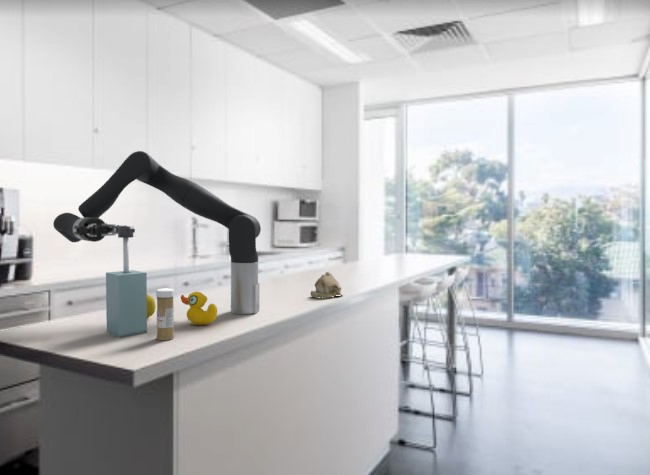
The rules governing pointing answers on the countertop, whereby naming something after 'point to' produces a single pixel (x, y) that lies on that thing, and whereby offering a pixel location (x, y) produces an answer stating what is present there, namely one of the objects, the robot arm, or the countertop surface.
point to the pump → (125, 244)
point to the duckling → (199, 309)
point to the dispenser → (126, 303)
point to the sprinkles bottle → (165, 314)
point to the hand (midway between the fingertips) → (111, 230)
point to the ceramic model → (326, 286)
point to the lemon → (150, 306)
